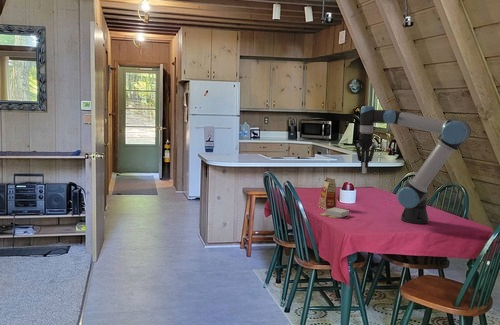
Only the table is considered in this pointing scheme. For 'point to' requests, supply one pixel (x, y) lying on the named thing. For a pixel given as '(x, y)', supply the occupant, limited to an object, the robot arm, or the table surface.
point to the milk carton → (328, 194)
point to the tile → (337, 212)
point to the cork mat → (328, 215)
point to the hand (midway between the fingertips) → (364, 173)
